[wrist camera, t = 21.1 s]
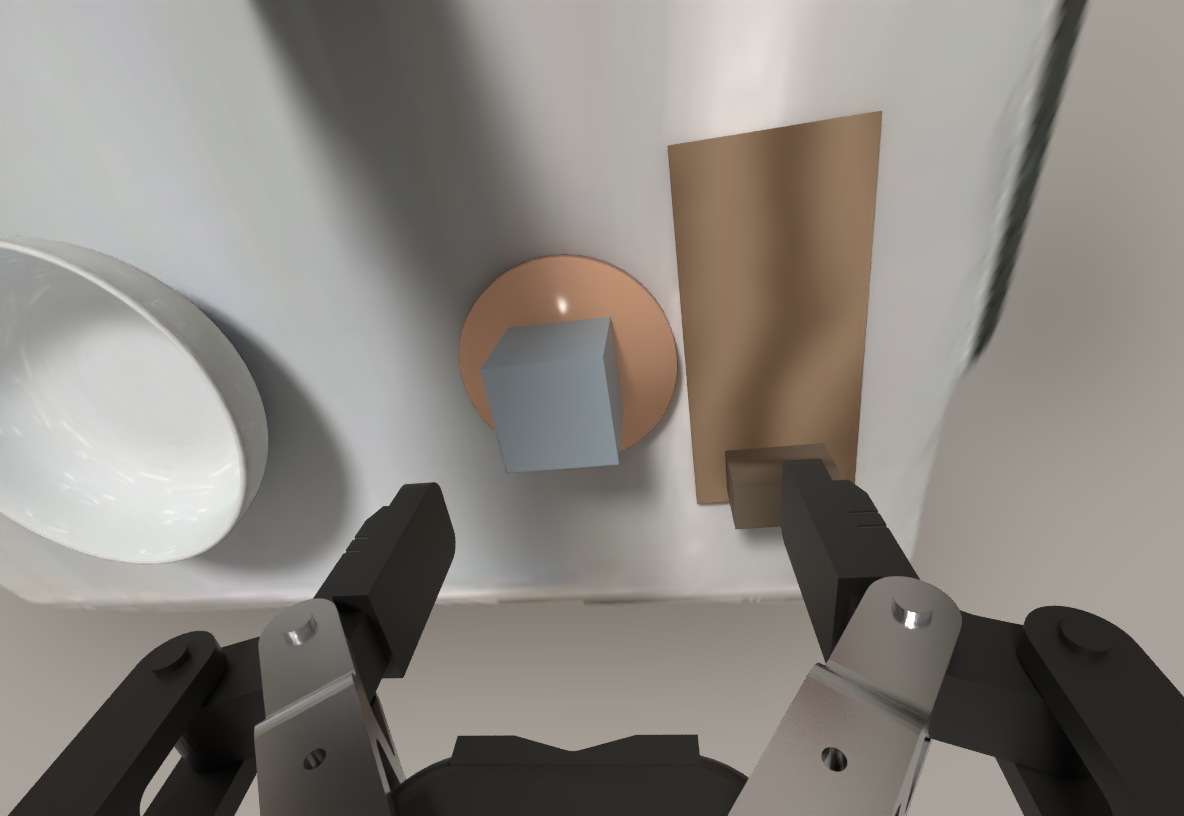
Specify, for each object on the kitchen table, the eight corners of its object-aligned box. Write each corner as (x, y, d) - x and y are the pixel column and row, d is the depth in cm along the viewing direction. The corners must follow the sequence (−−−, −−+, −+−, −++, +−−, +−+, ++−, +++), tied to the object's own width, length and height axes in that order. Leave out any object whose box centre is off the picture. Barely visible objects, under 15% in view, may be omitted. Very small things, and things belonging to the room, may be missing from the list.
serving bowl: (-72, 232, 34) (-231, 256, 28) (240, 201, 31) (141, 219, 25) (98, 506, 43) (8, 569, 37) (349, 499, 40) (296, 566, 34)
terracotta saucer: (492, 459, 38) (487, 469, 36) (440, 270, 32) (433, 275, 31) (684, 443, 36) (685, 453, 35) (665, 239, 30) (666, 243, 29)
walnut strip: (696, 499, 37) (702, 544, 33) (667, 145, 28) (671, 149, 24) (851, 488, 36) (876, 534, 32) (878, 111, 26) (919, 109, 22)
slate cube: (528, 418, 34) (506, 472, 29) (507, 328, 32) (480, 369, 26) (623, 410, 34) (618, 464, 28) (610, 316, 31) (602, 356, 26)
